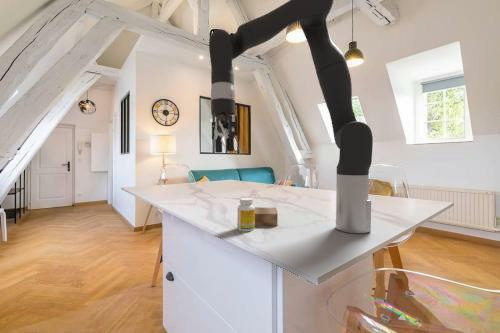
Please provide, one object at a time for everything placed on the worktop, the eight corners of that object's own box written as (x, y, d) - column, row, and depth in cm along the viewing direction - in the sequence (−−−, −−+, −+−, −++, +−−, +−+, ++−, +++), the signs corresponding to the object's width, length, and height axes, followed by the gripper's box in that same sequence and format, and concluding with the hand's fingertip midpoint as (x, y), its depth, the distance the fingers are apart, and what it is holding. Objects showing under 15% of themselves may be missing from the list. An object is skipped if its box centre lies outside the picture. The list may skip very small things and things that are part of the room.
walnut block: (276, 218, 87) (276, 207, 86) (277, 226, 77) (277, 214, 76) (249, 217, 87) (249, 207, 87) (247, 225, 77) (247, 213, 77)
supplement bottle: (234, 228, 74) (234, 198, 73) (247, 225, 77) (247, 196, 77) (244, 232, 69) (244, 200, 69) (258, 229, 73) (258, 199, 73)
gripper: (244, 96, 69) (245, 151, 69) (224, 106, 81) (225, 152, 81) (221, 92, 65) (222, 151, 65) (203, 103, 77) (204, 152, 78)
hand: (224, 152), depth 73 cm, fingers open, 8 cm apart
